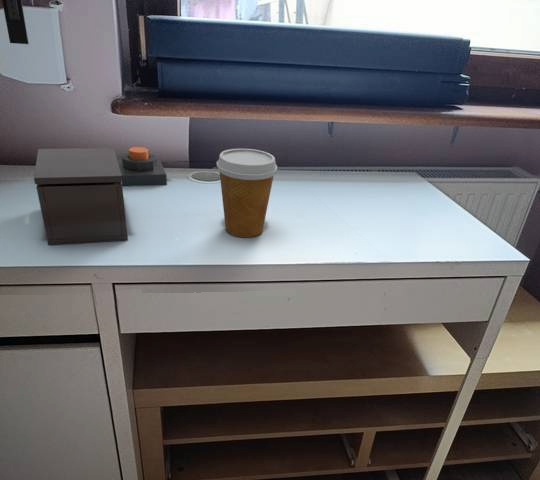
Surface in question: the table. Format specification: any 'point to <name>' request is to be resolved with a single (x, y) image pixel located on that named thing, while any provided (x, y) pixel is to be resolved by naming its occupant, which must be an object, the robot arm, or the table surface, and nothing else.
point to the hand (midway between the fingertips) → (19, 42)
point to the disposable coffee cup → (245, 189)
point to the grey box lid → (76, 166)
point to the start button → (138, 153)
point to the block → (142, 171)
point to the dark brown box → (83, 212)
